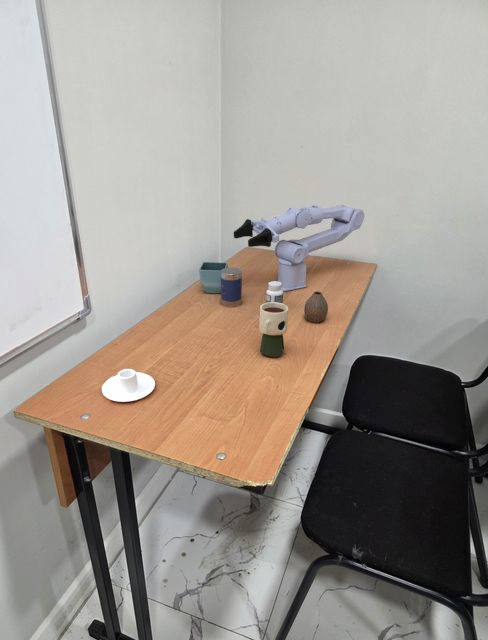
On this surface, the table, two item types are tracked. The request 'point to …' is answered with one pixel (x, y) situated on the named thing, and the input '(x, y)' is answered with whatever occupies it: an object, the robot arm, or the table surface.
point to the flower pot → (211, 276)
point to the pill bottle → (274, 292)
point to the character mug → (273, 328)
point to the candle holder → (128, 386)
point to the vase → (316, 308)
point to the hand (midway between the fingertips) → (241, 239)
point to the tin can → (231, 287)
